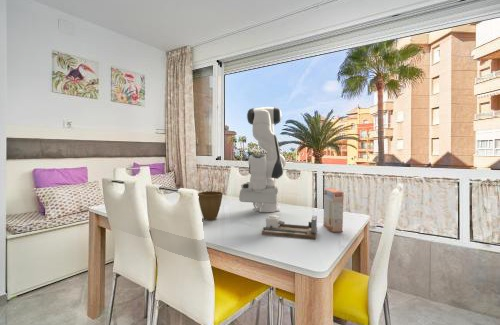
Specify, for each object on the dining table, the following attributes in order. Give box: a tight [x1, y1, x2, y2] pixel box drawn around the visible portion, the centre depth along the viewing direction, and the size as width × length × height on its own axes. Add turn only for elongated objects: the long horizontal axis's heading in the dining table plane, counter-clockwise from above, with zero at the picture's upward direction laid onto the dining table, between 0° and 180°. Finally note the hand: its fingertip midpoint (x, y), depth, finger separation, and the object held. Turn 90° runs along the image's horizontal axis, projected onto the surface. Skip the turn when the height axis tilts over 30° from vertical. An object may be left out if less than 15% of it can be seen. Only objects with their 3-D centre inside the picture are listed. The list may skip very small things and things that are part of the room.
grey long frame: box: [262, 215, 318, 235], centre depth 140 cm, size 10×26×7 cm, turn 73°
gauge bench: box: [261, 226, 318, 240], centre depth 141 cm, size 15×26×2 cm, turn 73°
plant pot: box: [197, 190, 223, 221], centre depth 166 cm, size 15×15×16 cm
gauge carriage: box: [265, 214, 286, 228], centre depth 141 cm, size 10×9×6 cm
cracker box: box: [322, 188, 344, 233], centre depth 147 cm, size 14×6×21 cm, turn 3°
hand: (258, 211), depth 144 cm, fingers closed
